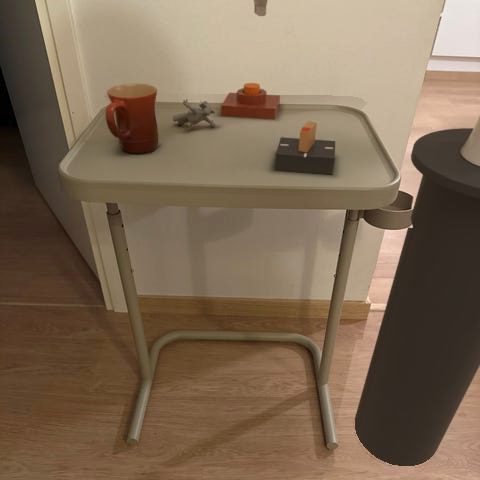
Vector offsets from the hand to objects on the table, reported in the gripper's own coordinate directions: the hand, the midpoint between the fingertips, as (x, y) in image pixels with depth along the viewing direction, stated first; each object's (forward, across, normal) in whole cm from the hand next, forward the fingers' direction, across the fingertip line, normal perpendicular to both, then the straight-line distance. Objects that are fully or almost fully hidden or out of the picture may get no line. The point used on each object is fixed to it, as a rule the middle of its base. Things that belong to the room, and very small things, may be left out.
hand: (260, 15), depth 94 cm
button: (+15, -1, -1) cm, 15 cm away
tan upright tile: (+16, +31, +2) cm, 34 cm away
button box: (+18, -1, -2) cm, 18 cm away
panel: (+19, +30, +2) cm, 36 cm away
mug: (+19, +19, -28) cm, 39 cm away
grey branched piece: (+19, +10, -16) cm, 27 cm away
